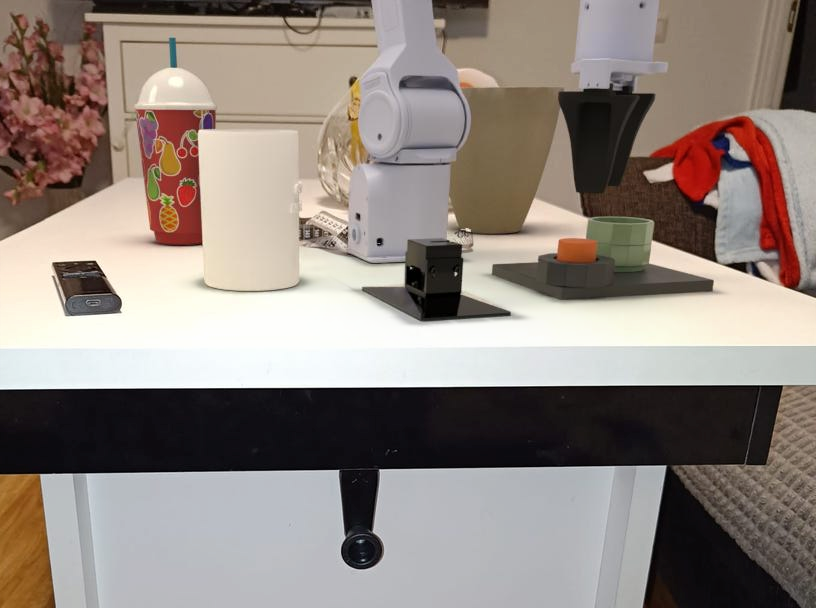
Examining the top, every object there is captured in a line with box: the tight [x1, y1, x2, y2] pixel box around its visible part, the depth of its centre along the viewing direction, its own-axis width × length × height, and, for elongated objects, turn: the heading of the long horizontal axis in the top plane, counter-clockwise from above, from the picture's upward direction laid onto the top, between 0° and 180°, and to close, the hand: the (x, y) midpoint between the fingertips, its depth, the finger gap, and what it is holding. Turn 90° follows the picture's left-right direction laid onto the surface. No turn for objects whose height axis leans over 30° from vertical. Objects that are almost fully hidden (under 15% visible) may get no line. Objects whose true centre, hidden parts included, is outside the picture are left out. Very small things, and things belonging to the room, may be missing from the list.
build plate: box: [361, 238, 512, 323], centre depth 70 cm, size 12×7×5 cm, turn 18°
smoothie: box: [133, 37, 218, 246], centre depth 97 cm, size 8×8×20 cm
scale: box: [491, 252, 715, 301], centre depth 78 cm, size 14×12×3 cm
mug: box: [198, 128, 303, 292], centre depth 78 cm, size 8×12×12 cm
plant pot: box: [447, 86, 565, 235], centre depth 109 cm, size 15×15×16 cm
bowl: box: [585, 216, 655, 272], centre depth 80 cm, size 5×5×4 cm
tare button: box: [556, 237, 598, 262], centre depth 74 cm, size 3×3×2 cm
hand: (598, 189), depth 74 cm, fingers open, 7 cm apart
